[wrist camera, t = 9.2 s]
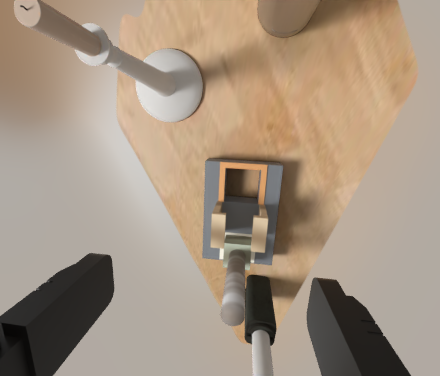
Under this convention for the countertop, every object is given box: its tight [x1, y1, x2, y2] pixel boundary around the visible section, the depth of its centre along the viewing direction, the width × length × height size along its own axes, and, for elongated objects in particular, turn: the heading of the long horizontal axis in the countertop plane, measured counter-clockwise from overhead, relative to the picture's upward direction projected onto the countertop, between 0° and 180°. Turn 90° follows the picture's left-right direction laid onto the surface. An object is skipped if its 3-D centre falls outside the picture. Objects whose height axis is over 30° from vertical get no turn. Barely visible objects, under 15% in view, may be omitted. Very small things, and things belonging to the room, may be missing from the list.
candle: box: [245, 275, 276, 376], centre depth 40 cm, size 5×5×25 cm
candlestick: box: [14, 0, 203, 122], centre depth 29 cm, size 13×13×30 cm
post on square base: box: [221, 235, 252, 326], centre depth 37 cm, size 5×5×18 cm
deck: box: [203, 158, 283, 265], centre depth 46 cm, size 20×14×4 cm
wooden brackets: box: [211, 201, 268, 253], centre depth 41 cm, size 6×9×7 cm, turn 87°
